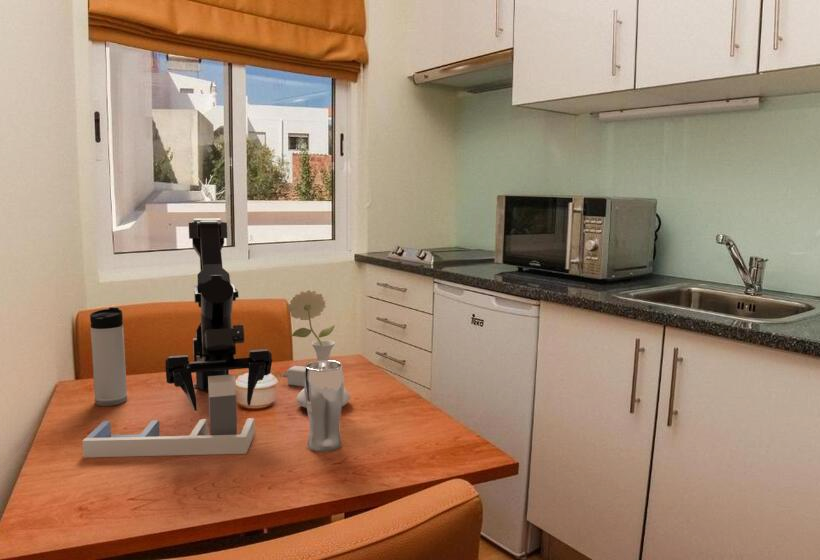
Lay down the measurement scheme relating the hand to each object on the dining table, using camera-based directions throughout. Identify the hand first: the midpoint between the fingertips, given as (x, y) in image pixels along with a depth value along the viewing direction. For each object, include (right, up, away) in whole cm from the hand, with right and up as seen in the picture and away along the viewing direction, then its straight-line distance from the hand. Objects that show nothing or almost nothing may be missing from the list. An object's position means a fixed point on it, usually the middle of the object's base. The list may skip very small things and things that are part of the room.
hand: (222, 407), depth 113 cm
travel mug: (-31, -4, +23) cm, 39 cm away
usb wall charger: (+6, -2, +37) cm, 38 cm away
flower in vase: (+14, -4, +22) cm, 27 cm away
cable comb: (-9, -7, +1) cm, 11 cm away
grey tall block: (0, -7, +2) cm, 7 cm away
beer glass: (+18, -7, +1) cm, 20 cm away
